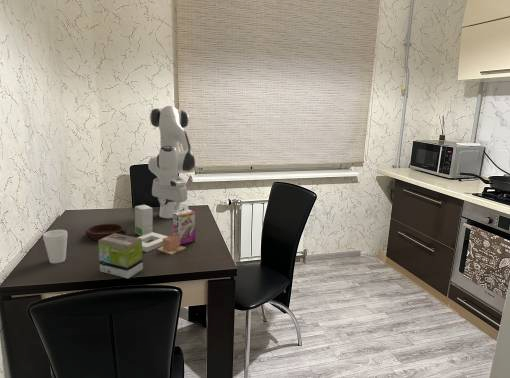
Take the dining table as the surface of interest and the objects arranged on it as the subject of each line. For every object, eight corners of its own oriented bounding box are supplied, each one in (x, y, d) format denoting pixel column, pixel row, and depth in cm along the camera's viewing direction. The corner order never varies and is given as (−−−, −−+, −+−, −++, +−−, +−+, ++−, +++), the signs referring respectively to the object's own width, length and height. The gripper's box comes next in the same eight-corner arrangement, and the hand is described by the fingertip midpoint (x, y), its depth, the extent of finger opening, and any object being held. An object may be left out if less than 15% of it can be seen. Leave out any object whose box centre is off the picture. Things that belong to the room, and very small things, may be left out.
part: (172, 245, 184) (172, 234, 183) (179, 246, 181) (179, 236, 180) (162, 249, 178) (162, 238, 177) (169, 251, 176) (169, 240, 174)
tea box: (99, 272, 152) (97, 239, 149) (116, 263, 162) (114, 232, 158) (128, 279, 147) (126, 245, 144) (143, 269, 157) (142, 237, 153)
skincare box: (134, 233, 201) (133, 206, 197) (145, 230, 206) (144, 204, 202) (142, 237, 195) (141, 209, 192) (153, 234, 200) (152, 207, 197)
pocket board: (152, 236, 196) (152, 232, 196) (171, 241, 190) (171, 237, 189) (127, 245, 182) (127, 241, 182) (146, 252, 175) (146, 247, 175)
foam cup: (66, 263, 160) (64, 235, 157) (43, 265, 157) (40, 237, 154) (71, 255, 169) (68, 229, 166) (48, 257, 166) (46, 230, 163)
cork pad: (171, 244, 186) (171, 243, 186) (185, 248, 181) (185, 247, 181) (156, 250, 178) (156, 249, 178) (171, 254, 173) (171, 253, 173)
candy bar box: (177, 246, 184) (177, 215, 180) (172, 243, 187) (172, 213, 184) (196, 241, 192) (195, 211, 188) (190, 238, 195) (190, 209, 192)
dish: (120, 243, 186) (120, 234, 185) (77, 242, 186) (76, 233, 184) (131, 232, 203) (131, 223, 202) (92, 231, 203) (91, 222, 202)
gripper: (148, 178, 176) (149, 205, 179) (180, 184, 166) (180, 213, 169) (157, 176, 181) (158, 202, 184) (189, 182, 171) (189, 209, 174)
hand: (169, 207), depth 177 cm, fingers open, 8 cm apart
